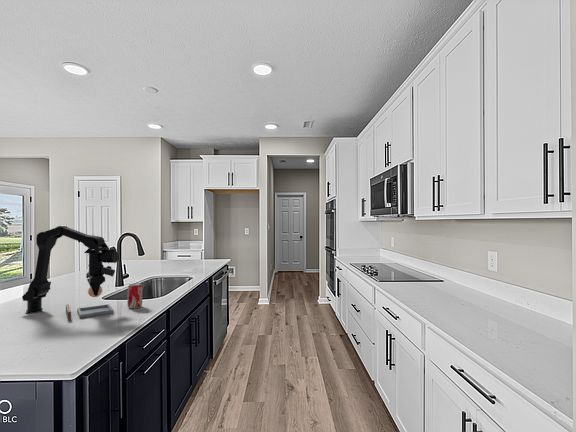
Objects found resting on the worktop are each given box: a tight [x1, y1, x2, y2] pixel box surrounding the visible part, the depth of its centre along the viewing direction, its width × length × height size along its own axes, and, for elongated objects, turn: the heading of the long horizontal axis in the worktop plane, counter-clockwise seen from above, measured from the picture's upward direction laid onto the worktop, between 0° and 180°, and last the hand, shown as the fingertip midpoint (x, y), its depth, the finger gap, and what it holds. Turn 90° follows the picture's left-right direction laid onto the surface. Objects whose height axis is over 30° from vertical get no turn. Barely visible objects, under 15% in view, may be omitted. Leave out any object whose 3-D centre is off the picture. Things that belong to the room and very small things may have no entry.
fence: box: [65, 304, 72, 322], centre depth 158 cm, size 16×1×4 cm, turn 36°
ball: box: [87, 285, 103, 298], centre depth 165 cm, size 6×6×6 cm
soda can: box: [126, 282, 143, 309], centre depth 175 cm, size 7×7×12 cm
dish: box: [76, 303, 115, 320], centre depth 165 cm, size 14×14×2 cm
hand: (95, 294), depth 165 cm, fingers closed on ball, 6 cm apart
